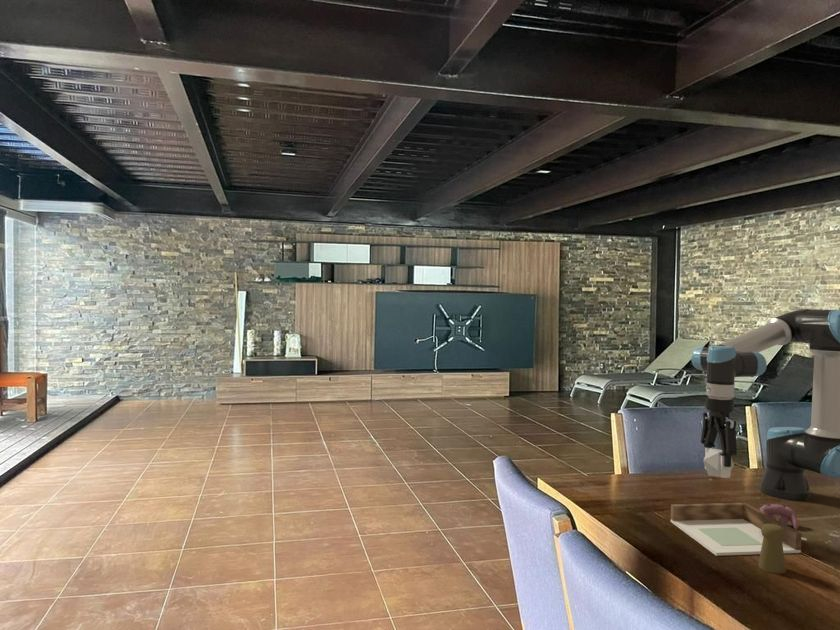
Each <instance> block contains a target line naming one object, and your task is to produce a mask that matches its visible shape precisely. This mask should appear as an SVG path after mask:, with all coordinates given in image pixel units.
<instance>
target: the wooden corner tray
mask: <svg viewBox="0 0 840 630" xmlns="http://www.w3.org/2000/svg"><path fill="white" fill-rule="evenodd" d="M670 523H672V524H673V525H674V526H676V527H677V528H678V529H679V530H681V531H683V532H684V533H685V534H686V535H687V536H689V537H690V538H692V539H693V540H695V541H696V542H697V543H699V544H700V545H701V546H703V547H704V548H705V549H707V550H708V551H709V552H710V553H712V554H714V556H716V557H717V556H743V555H745V556H747V555H748V556H750V555H752V556H753V555H760V553H761V548H762V542H763V535H762V533H761V528H762V526H763V525H764V524H775V525H778V526H780V527H782V528H783V529H784V532H785V537H784V539H783V540H782V544H783V552H784V554H799V553H802V533H801V532H800V531H798V530H797V529H794V528H792V527H791V526H789V525H788V524H786V525H785V524H783V523H782V522H780V521H779V519H778V520H777V518H776V519H774V518H772V517H771V516H769V515H767V514H765V513H763V512H762V511H760V509H757V508H756V507H754V506H752V505H751V504H750V503H749V504H748V503H747V502H721V503H719V502H717V503H714V502H713V503H712V502H711V503H682V504H680V503H679V504H677V503H676V504H675V503H674V504H670Z"/></svg>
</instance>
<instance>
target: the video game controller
mask: <svg viewBox="0 0 840 630" xmlns="http://www.w3.org/2000/svg"><path fill="white" fill-rule="evenodd" d="M759 510H760V511H762V512H763V513H765V514H767V515H769V516H771V517H772V518H774V519H776V520H777V518H776V516H775V515H779V516H780V517H779V519H778V521H780V522H782V523H783V524H785V525H788V524H789V522H790V523H791V525H792V527H793V529H794V530H798V528H799V523H798V518H797V514H796V513H795V511H794V510H793V509H792V508H791V507H789V506H785V505H782V504H777V503H773V504H763V505H762V506H761V507H760V508H759Z"/></svg>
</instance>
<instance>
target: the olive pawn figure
mask: <svg viewBox="0 0 840 630" xmlns="http://www.w3.org/2000/svg"><path fill="white" fill-rule="evenodd" d="M761 533H762V535H763V542H762V548H761V553H760V554H759V558H758V559H759V560H758V565H757V566H758V568H759V569H761V570H762V571H765V572H767V573H771V574H785V573H786V562H785V553H784V552H783V544H782V540H783V539H784V537H785V532H784V529H783V528H782V527H780V526H778V525H775V524H764V525H763V526H762V528H761Z"/></svg>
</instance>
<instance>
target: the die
mask: <svg viewBox="0 0 840 630" xmlns="http://www.w3.org/2000/svg"><path fill="white" fill-rule="evenodd" d="M712 448H713V447H712ZM712 448H710V449H709V451H708V452H707V454H706V456H704V458H703V465H704V468H705V467H706V469H705V470H706V472H707V475H708V476H710V477H715V478H721V477H720V471H721V455H720V454H723V452H722V449H719V448H715V449H712ZM734 466H735V463H734V461H733V458H732V457H731V471H733V469H734Z"/></svg>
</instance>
